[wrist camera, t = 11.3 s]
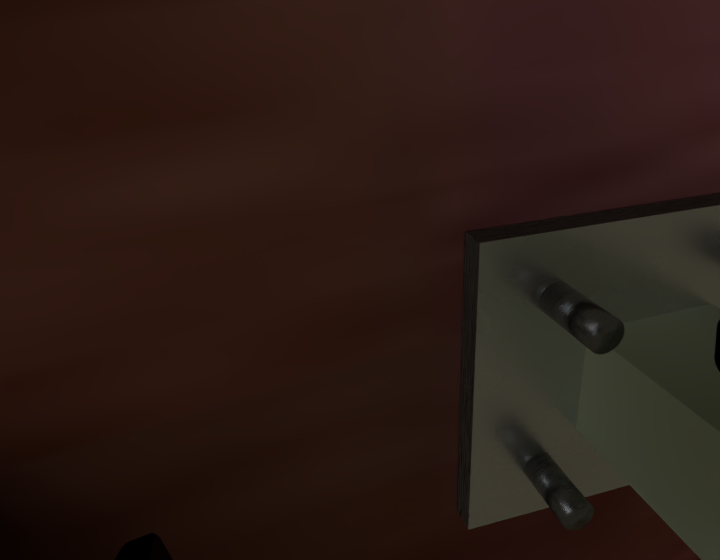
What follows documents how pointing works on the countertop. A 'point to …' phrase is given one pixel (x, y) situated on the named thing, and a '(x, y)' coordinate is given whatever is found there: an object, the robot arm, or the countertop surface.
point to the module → (662, 419)
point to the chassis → (562, 343)
